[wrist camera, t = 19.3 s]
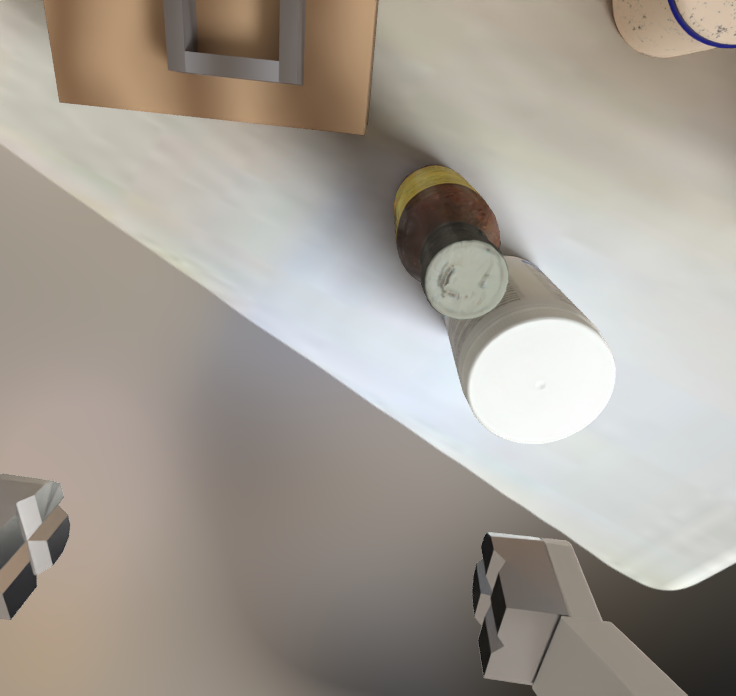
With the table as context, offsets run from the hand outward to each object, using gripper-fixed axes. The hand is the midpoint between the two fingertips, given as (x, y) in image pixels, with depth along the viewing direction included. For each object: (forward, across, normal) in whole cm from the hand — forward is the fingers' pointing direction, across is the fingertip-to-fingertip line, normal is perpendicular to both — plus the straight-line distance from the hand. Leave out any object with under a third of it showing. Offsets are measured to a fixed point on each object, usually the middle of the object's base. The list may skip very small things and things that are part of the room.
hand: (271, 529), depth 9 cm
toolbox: (+35, +10, -12) cm, 38 cm away
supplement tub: (+35, -12, +7) cm, 38 cm away
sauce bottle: (+35, -5, -1) cm, 36 cm away
